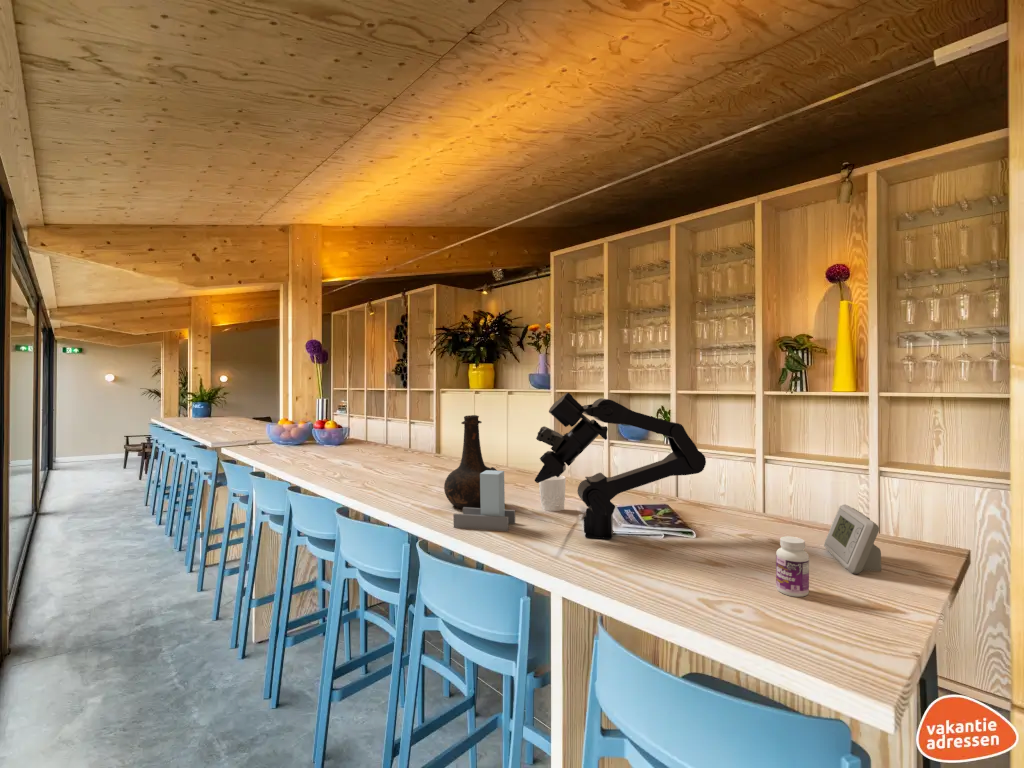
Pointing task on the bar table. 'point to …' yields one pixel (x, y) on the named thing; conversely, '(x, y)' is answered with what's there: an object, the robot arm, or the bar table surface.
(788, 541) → the pill bottle
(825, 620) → the bar table surface
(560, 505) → the white cup
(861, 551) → the digital clock
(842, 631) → the bar table surface
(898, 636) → the bar table surface
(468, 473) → the dark brown round-bodied bottle
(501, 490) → the block
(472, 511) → the chute
